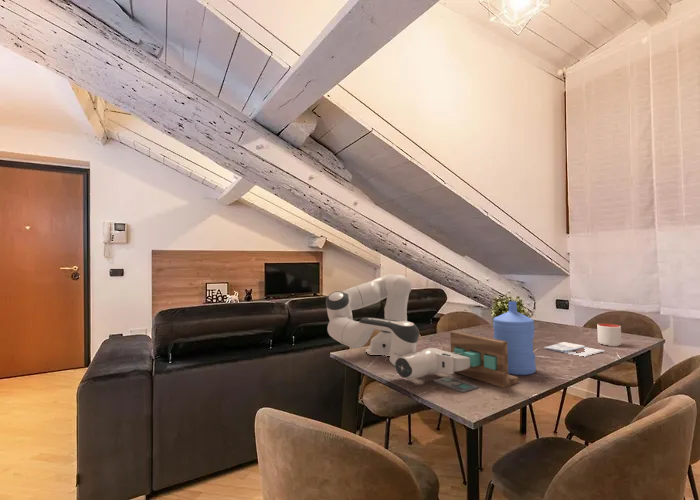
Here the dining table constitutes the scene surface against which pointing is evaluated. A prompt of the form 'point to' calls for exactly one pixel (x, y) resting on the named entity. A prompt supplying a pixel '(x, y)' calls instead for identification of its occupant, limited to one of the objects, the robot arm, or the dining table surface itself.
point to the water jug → (516, 340)
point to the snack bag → (567, 347)
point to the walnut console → (485, 347)
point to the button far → (459, 350)
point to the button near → (490, 361)
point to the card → (456, 384)
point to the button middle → (473, 357)
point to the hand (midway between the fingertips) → (458, 354)
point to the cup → (609, 334)
